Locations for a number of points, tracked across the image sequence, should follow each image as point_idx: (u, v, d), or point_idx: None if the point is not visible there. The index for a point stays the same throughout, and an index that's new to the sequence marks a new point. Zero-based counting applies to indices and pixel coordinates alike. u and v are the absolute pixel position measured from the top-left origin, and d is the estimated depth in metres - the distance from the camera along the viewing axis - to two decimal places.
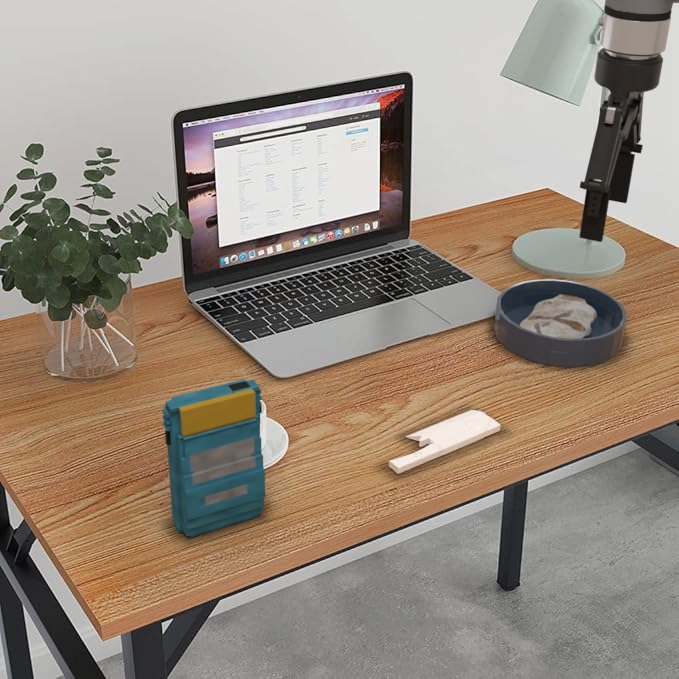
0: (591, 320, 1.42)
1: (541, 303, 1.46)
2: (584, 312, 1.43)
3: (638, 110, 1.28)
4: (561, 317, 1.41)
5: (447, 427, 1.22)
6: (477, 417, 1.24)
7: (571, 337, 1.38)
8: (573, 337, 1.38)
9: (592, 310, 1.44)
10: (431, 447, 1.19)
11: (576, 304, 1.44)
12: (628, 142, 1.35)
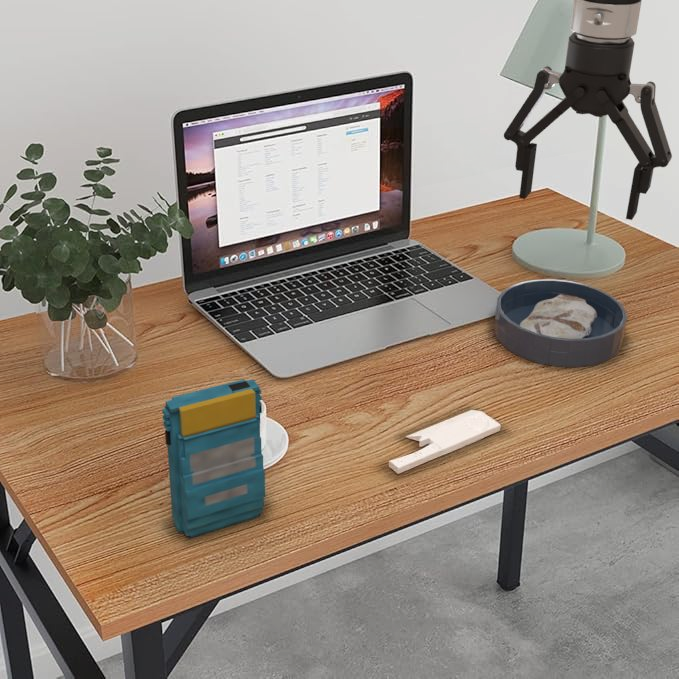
0: (591, 320, 1.42)
1: (541, 303, 1.46)
2: (584, 312, 1.43)
3: None
4: (561, 317, 1.41)
5: (447, 427, 1.22)
6: (477, 417, 1.24)
7: (571, 337, 1.38)
8: (573, 337, 1.38)
9: (592, 310, 1.44)
10: (431, 447, 1.19)
11: (576, 304, 1.44)
12: None
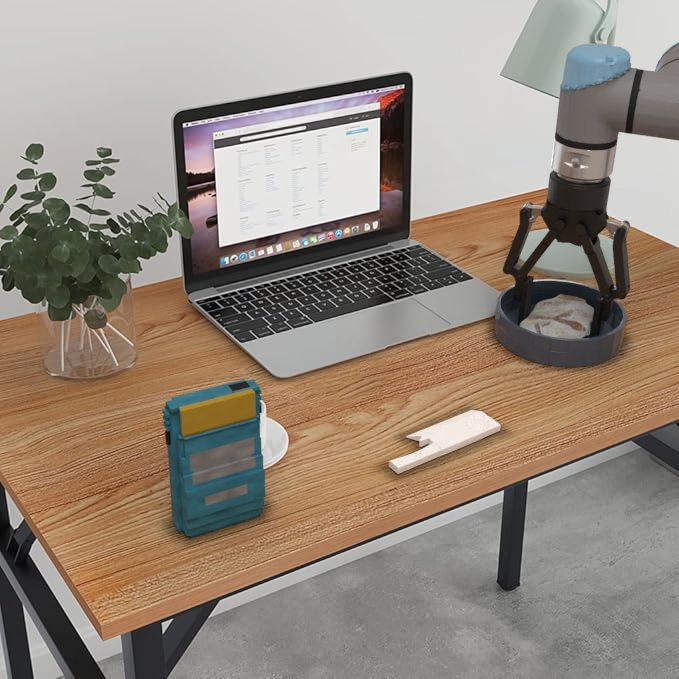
0: (591, 320, 1.42)
1: (541, 303, 1.46)
2: (584, 312, 1.43)
3: None
4: (561, 317, 1.41)
5: (447, 427, 1.22)
6: (477, 417, 1.24)
7: (571, 337, 1.38)
8: (573, 337, 1.38)
9: (592, 310, 1.44)
10: (431, 447, 1.19)
11: (576, 304, 1.44)
12: None
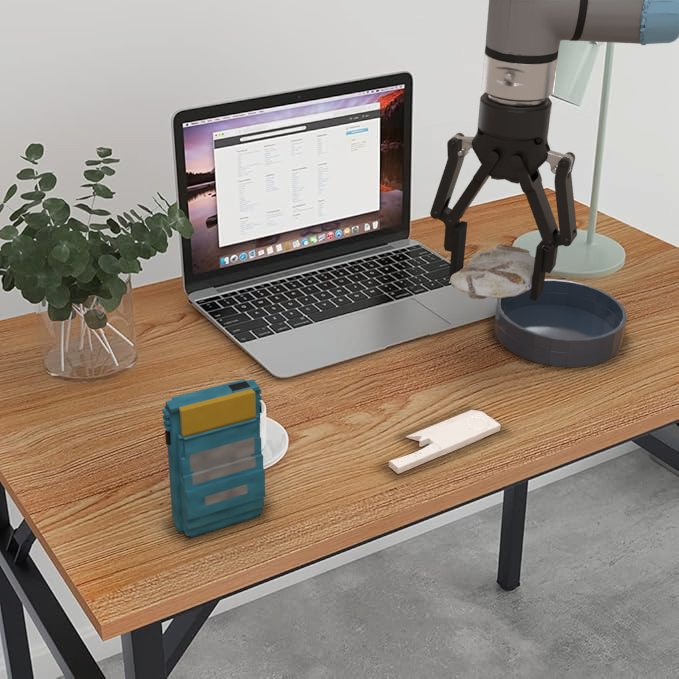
0: None
1: (478, 255, 1.26)
2: (526, 264, 1.23)
3: None
4: (498, 269, 1.21)
5: (447, 427, 1.22)
6: (477, 417, 1.24)
7: (508, 291, 1.18)
8: (510, 291, 1.18)
9: None
10: (431, 447, 1.19)
11: (518, 255, 1.24)
12: (467, 207, 1.21)
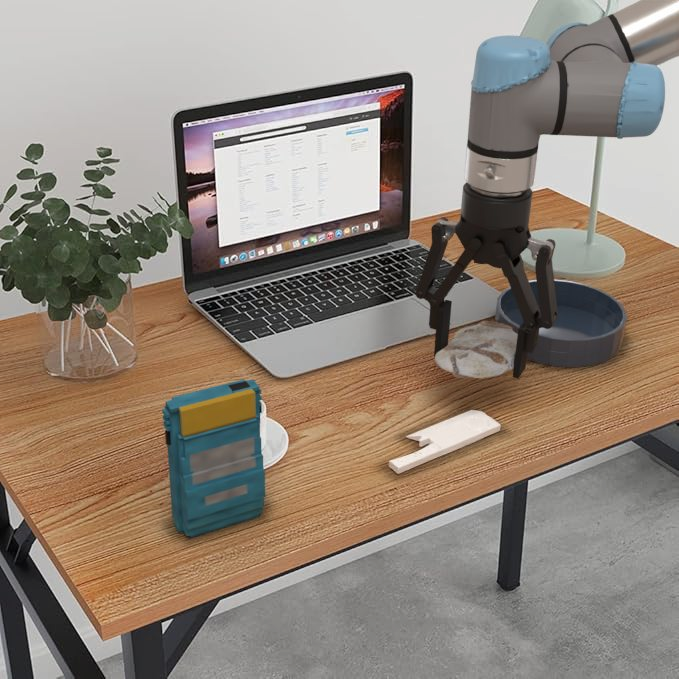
0: None
1: (462, 330, 1.29)
2: (508, 341, 1.26)
3: None
4: (481, 348, 1.24)
5: (447, 427, 1.22)
6: (477, 417, 1.24)
7: (491, 371, 1.21)
8: (493, 371, 1.21)
9: None
10: (431, 447, 1.19)
11: (501, 332, 1.27)
12: (451, 287, 1.24)
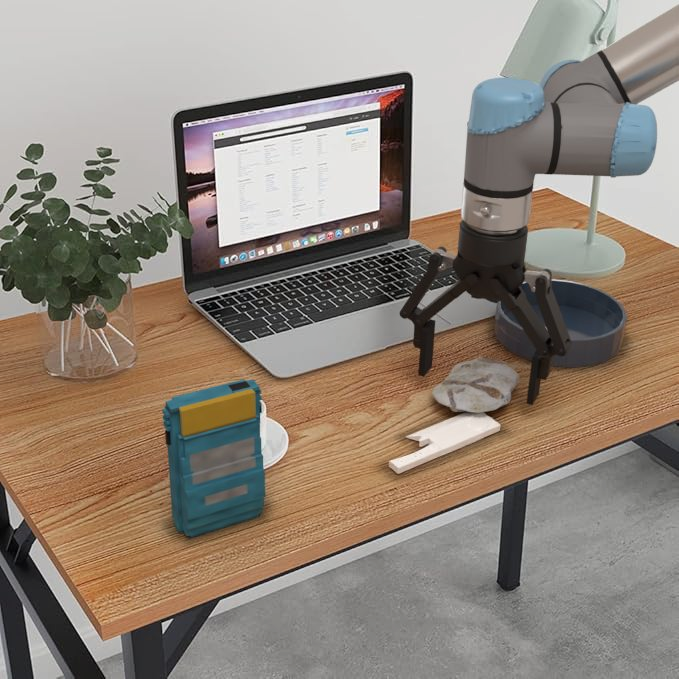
0: (512, 386, 1.28)
1: (459, 365, 1.32)
2: (504, 377, 1.29)
3: None
4: (478, 382, 1.27)
5: (447, 427, 1.22)
6: (477, 417, 1.24)
7: (487, 406, 1.23)
8: (489, 406, 1.24)
9: (514, 374, 1.29)
10: (431, 447, 1.19)
11: (497, 368, 1.30)
12: None
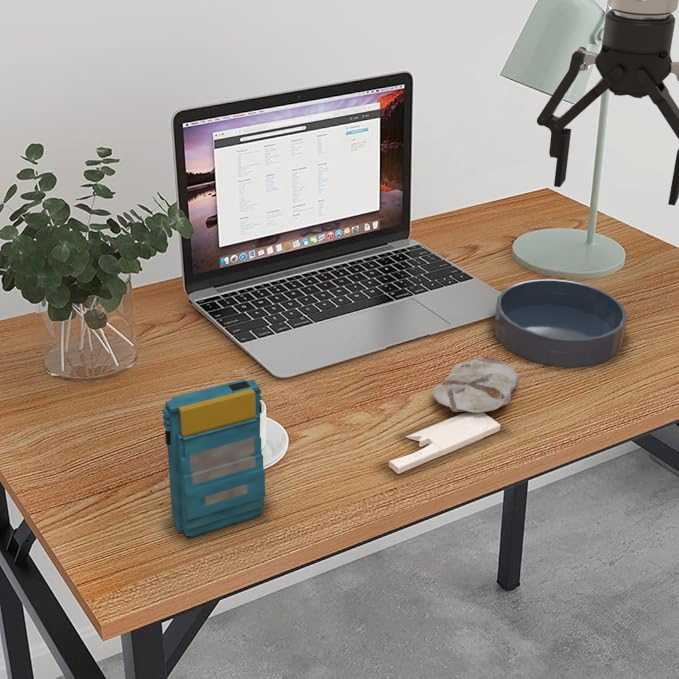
0: (512, 386, 1.28)
1: (459, 365, 1.32)
2: (504, 377, 1.29)
3: None
4: (478, 382, 1.27)
5: (447, 428, 1.22)
6: (477, 417, 1.24)
7: (487, 406, 1.23)
8: (489, 406, 1.24)
9: (514, 374, 1.29)
10: (431, 447, 1.19)
11: (497, 368, 1.30)
12: None
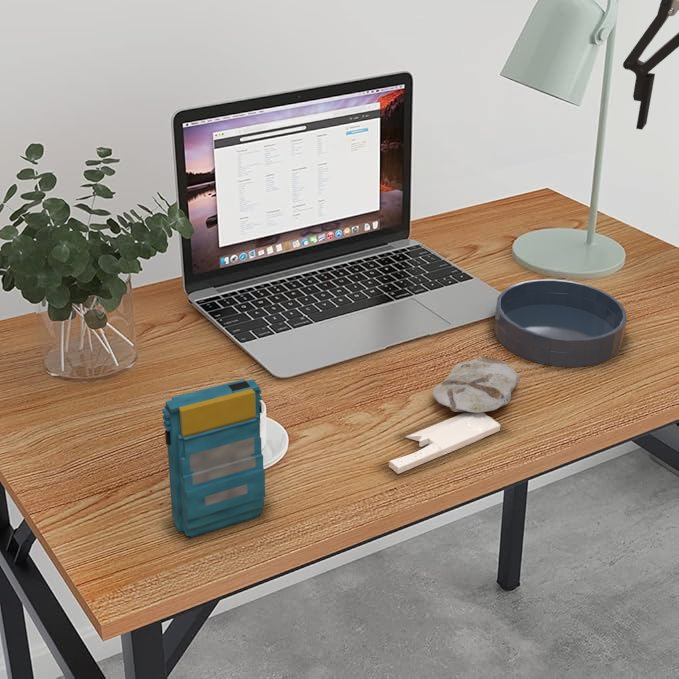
0: (512, 386, 1.28)
1: (459, 365, 1.32)
2: (504, 377, 1.29)
3: None
4: (478, 382, 1.27)
5: (447, 428, 1.22)
6: (477, 417, 1.24)
7: (487, 406, 1.23)
8: (489, 406, 1.24)
9: (514, 374, 1.29)
10: (431, 447, 1.19)
11: (497, 368, 1.30)
12: None
